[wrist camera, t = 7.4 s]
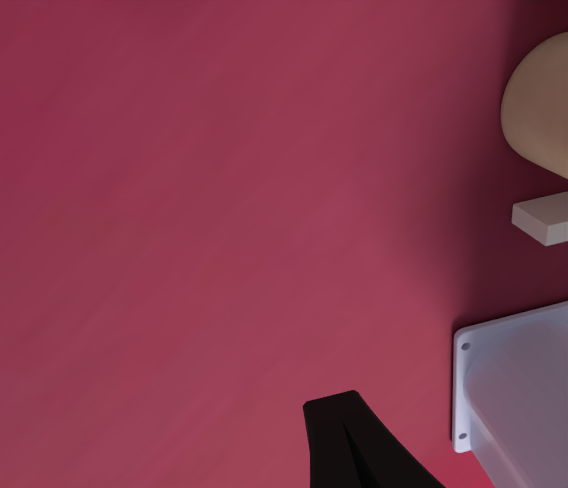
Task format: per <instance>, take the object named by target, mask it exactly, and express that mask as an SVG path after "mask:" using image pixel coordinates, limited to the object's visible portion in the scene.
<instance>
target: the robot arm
mask: <svg viewBox="0 0 568 488" xmlns="http://www.w3.org/2000/svg"><path fill="white" fill-rule="evenodd" d="M464 343H465V344H464ZM463 344H464V345H463ZM462 345H463V346H462ZM303 411H304V418H305V424H306V430H307V437H308V443H309V450H310V488H446V487H444V486H443V485H442V484H441V483H440V482H439V481H438V480H437V479H436V478H435V477H434V476H433V475H432V474H431V473H429V472H428V471H427V470H426V469H425V468H424V467H423V466H422V465H421V464H420V463H419V462H418V461H417V460H416V459H415V458H414V457H413V456H412V455H411V454H410V453H409V452H408V450H407V449H406V448H405V447H404V446H403V445H402V444H401V443H400V442H399V441H398V440H397V439H396V438H395V437H394V436H393V435H392V433H391V432H390V431H389V430H388V429H387V428H386V427H385V426H384V424H383V423H382V422H381V421H380V420H379V419H378V417H377V416H376V415H375V414H374V413H373V411H372V410H371V409H370V408H369V406H368V405H367V404H366V402H365V401H364V400H363V399H362V397H361V396H360V394H359V393H358V392H357V391H355V390H351V391H347V392H343V393H339V394H335V395H331V396H327V397H323V398H319V399H315V400H311V401H307V402H306V403H305V404H304V405H303ZM452 447H453V448H454V450H455V451H456V452H459V453H461V452H465V451H469V450H472V452H473V453H474V455H475V456H476V458H477V459H478V461H479V463H480V464H481V466H482V467H483V469H484V470H485V472H486V473H487V475H488V477H489V478H490V480H491V481H492V483H493V484H494V486H495V487H496V488H568V301H565V302H562V303H558V304H554V305H550V306H546V307H542V308H538V309H534V310H530V311H527V312H523V313H519V314H515V315H511V316H507V317H503V318H499V319H495V320H492V321H488V322H484V323H480V324H476V325H472V326H468V327H464V328H461V329H459V330H458V331H457V332H456V333H455V335H454V363H453V417H452Z"/></svg>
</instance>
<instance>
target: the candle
mask: <svg viewBox="0 0 568 488" xmlns="http://www.w3.org/2000/svg"><path fill="white" fill-rule="evenodd" d="M500 116H501V126H502V131H503V134H504V136H505V138H506V140H507V142H508V144H509V145H510V146H511V147H512V149H514V150H515V151H516V152H517V153H518V154H519V155H521V156H522V157H524V158H526V159H527V160H529V161H531V162H533V163H535V164H537V165H539V166H541V167H543V168H545V169H547V170H550V171H552V172H554V173H556V174H558V175H560V176H562V177H564V178H566V179H568V32H565V33H561V34H558V35H555V36H553V37H551V38H549V39H547V40H545V41H543V42H542V43H540V44H539V45H538V46H536V47H535V48H534V49H533V50H531V51H530V52H529V53H528V54H527V55H526V56H525V57H524V59H523V60H522V61H521V62H520V64H519V65H518V66H517V68H516V69H515V71H514V72H513V74H512V76H511V78H510V80H509V82H508V84H507V86H506V89H505V92H504V95H503V99H502V104H501V115H500Z"/></svg>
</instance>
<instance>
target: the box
mask: <svg viewBox="0 0 568 488" xmlns="http://www.w3.org/2000/svg"><path fill="white" fill-rule="evenodd" d="M512 223H513V224H514V225H515V226H517V227H518V228H520V229H521V230H523V231H524V232H526V233H527V234H529V235H530V236H531V237H533V238H534V239H536V240H537V241H539V242H540V243H542V244H543V245H545V246H549V245H553V244H557V243H561V242H565V241H568V191H567V192H562V193H558V194H554V195H550V196H545V197H541V198H537V199H532V200H528V201H524V202H520V203H515V204H513V211H512Z"/></svg>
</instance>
